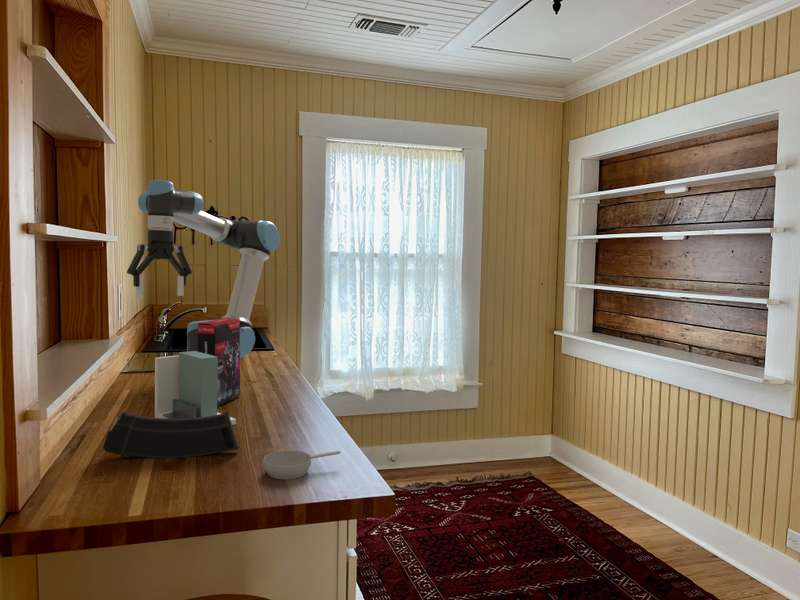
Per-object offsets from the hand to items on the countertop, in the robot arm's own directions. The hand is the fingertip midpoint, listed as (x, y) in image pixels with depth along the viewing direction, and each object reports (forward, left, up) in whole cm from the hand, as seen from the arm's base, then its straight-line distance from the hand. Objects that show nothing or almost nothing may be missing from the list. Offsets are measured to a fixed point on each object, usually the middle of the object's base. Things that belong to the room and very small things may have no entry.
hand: (160, 296), depth 188 cm
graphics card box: (-15, +11, -35) cm, 39 cm away
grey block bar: (+7, +26, -33) cm, 43 cm away
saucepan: (+4, +78, -35) cm, 85 cm away
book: (+1, +25, -33) cm, 42 cm away
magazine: (+21, +49, -35) cm, 63 cm away
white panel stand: (+2, +26, -35) cm, 43 cm away
